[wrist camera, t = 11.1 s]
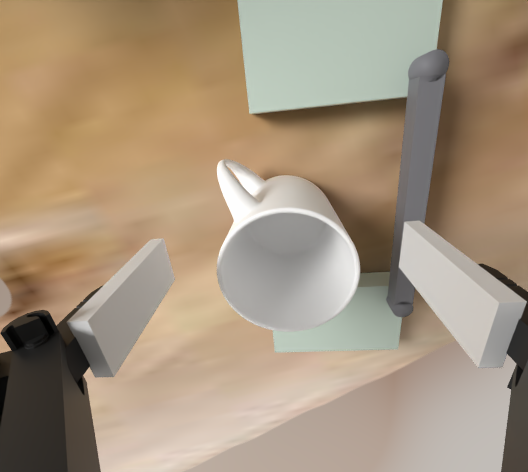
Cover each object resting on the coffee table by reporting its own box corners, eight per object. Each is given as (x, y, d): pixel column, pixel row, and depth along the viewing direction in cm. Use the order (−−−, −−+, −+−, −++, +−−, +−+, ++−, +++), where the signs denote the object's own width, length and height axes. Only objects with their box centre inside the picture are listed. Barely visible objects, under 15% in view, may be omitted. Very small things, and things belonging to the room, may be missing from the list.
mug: (273, 119, 23) (266, 118, 13) (347, 226, 26) (387, 291, 16) (199, 180, 25) (146, 219, 15) (276, 271, 28) (272, 351, 18)
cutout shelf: (240, -7, 19) (230, -38, 16) (430, -35, 18) (469, -77, 14) (275, 335, 32) (274, 364, 28) (390, 332, 30) (405, 361, 27)
